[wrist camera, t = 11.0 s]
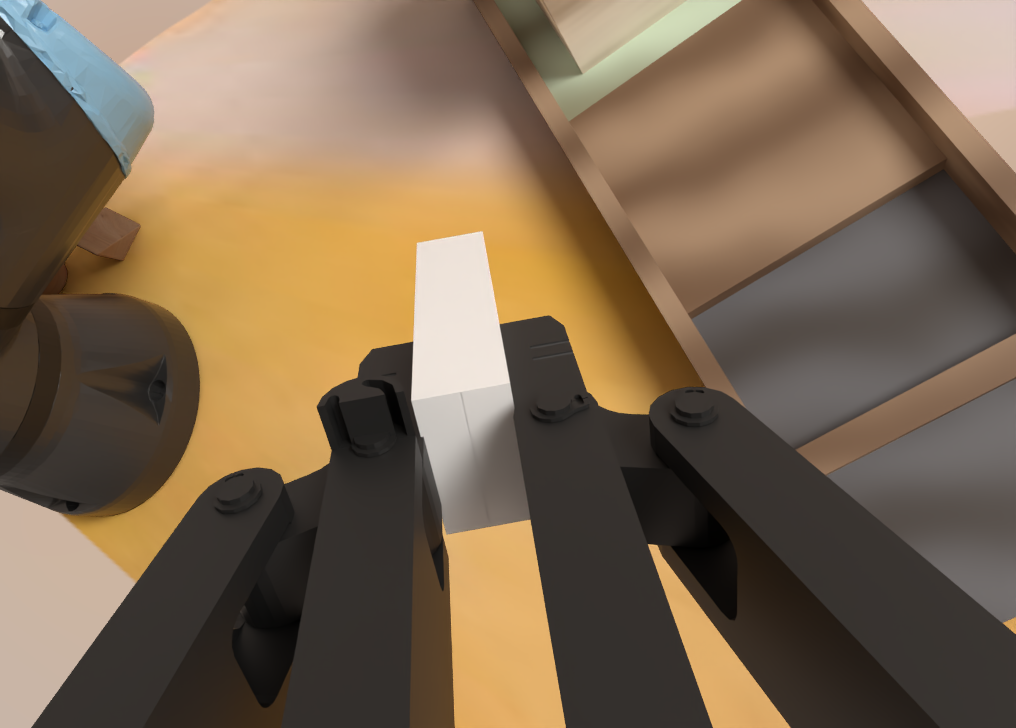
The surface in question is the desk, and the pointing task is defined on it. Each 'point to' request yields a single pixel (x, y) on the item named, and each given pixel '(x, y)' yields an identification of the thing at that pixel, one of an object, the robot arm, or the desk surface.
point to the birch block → (601, 24)
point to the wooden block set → (101, 242)
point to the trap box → (814, 247)
